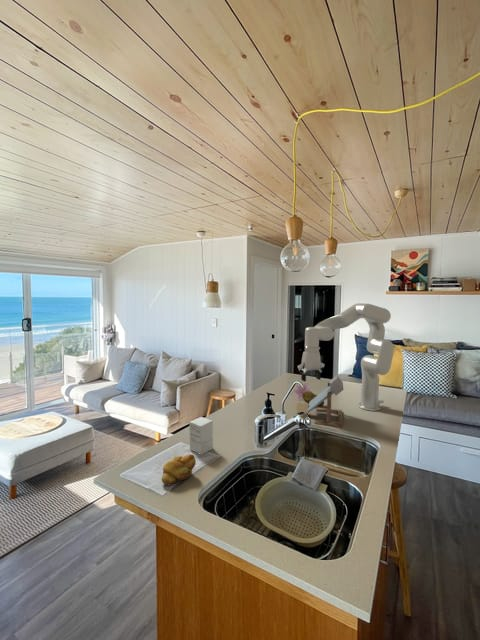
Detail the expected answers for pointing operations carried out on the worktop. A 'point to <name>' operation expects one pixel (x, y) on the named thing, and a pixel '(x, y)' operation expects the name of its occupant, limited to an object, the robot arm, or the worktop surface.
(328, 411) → the stand
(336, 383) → the trapdoor
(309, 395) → the potato
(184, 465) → the bread roll
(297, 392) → the lily
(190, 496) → the worktop surface
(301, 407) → the tan block
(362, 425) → the worktop surface
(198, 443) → the supplement box
